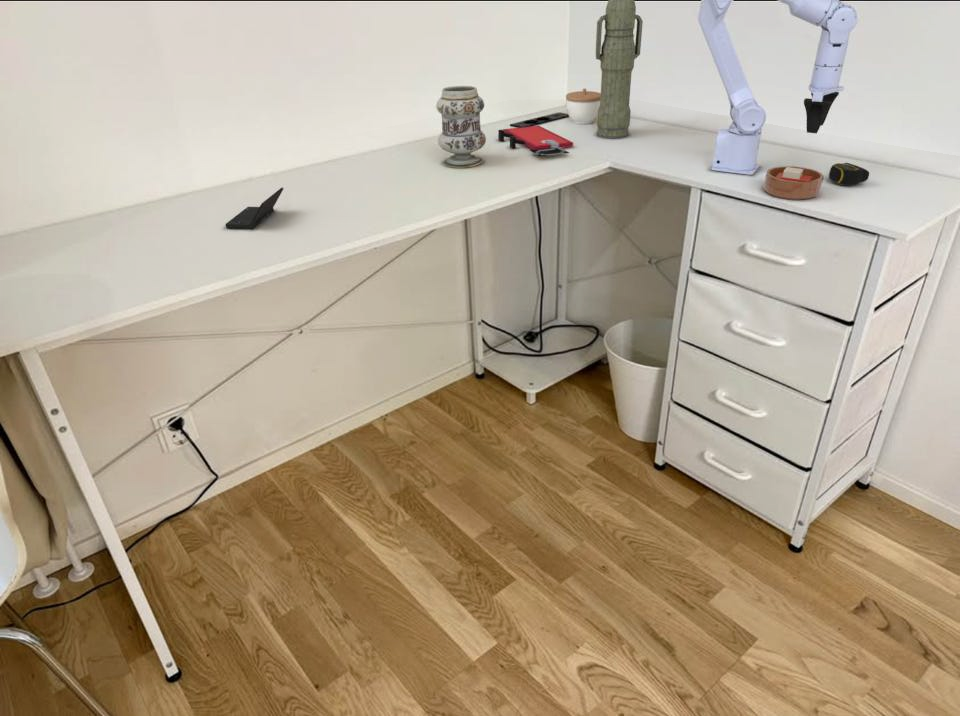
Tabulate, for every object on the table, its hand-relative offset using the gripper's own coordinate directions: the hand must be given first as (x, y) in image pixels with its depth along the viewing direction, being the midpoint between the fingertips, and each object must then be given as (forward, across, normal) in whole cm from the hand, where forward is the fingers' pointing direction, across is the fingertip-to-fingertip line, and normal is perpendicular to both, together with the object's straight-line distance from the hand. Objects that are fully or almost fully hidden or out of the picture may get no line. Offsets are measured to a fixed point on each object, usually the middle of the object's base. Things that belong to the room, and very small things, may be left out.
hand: (814, 128), depth 158 cm
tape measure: (+10, -6, -9) cm, 15 cm away
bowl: (+9, -18, 0) cm, 20 cm away
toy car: (+9, -18, 0) cm, 20 cm away
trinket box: (+10, +23, +67) cm, 71 cm away
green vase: (+10, +12, +53) cm, 55 cm away
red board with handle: (+10, -6, +68) cm, 69 cm away
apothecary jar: (+10, -29, +77) cm, 83 cm away
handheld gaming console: (+10, -83, +94) cm, 126 cm away
